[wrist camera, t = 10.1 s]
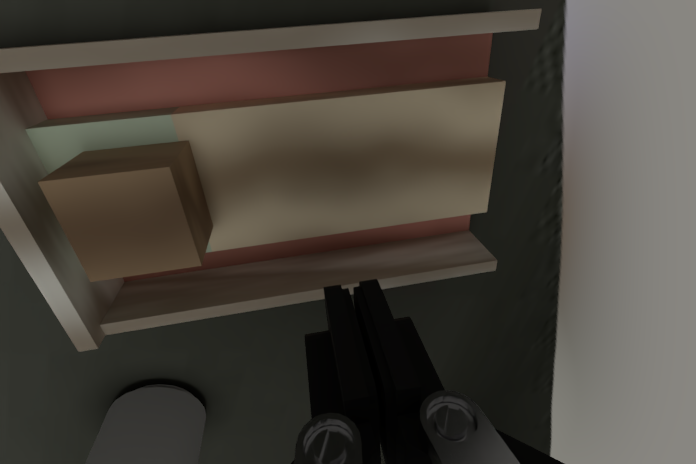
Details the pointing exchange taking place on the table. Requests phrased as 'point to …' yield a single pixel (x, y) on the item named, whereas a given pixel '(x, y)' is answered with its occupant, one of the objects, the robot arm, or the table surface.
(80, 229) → the walnut block
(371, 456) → the robot arm
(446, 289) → the table surface
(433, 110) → the trap box
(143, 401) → the can
